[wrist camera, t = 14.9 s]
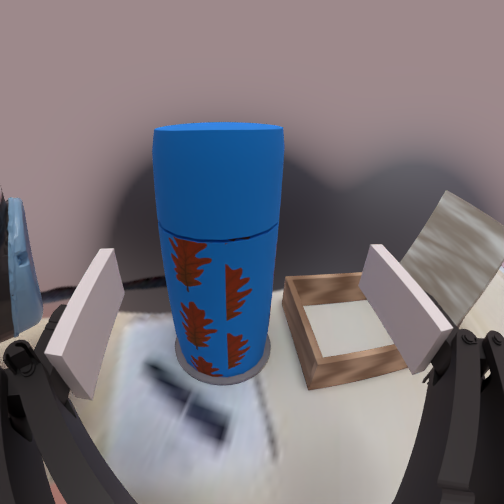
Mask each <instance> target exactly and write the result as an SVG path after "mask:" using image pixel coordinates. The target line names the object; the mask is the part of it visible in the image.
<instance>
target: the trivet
mask: <svg viewBox="0 0 504 504" xmlns="http://www.w3.org/2000/svg"><path fill="white" fill-rule="evenodd" d="M270 347H271V344H270V339H269V336H268V334H267V338H266V343H265V348H264V353H263V356H262V358H261V359H260V360H259V362H258V363H257V365H256V366H255V367H253V368H251V369H250V370H248V371H247V372H245V373H244V374H240V375H236V376H232V377H212V376H209V375H206V374H203V373H201V372H198V371H197V370H196V369H194V368H193V367H192V366H191V365H189V364H188V363H187V361H186V359H185V357H184V355H183V353H182V351H181V347H180V344H179V341H178V338H176V342H175V351H176V356H177V359H178V362H179V363H180V365H181V367H182V368H183V369H184V370H185V371H186V372H187V373H188V374H189V375H191V376H192V377H194V378H195V379H197V380H199V381H202V382H205V383H209V384H214V385H232V384H237V383H240V382H243V381H246V380H248V379H250V378H252V377H253V376H255V375H256V374H258V373H259V372H260V371H261V370H262V369H263V367H264V366H265V365H266V363H267V361H268V359H269V355H270Z"/></svg>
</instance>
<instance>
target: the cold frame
mask: <svg viewBox="0 0 504 504" xmlns="http://www.w3.org/2000/svg"><path fill="white" fill-rule="evenodd" d="M503 262H504V226H503V225H502V224H500V223H499V222H497V221H496V220H494V219H493V218H491V217H490V216H488V215H487V214H485V213H484V212H482V211H480V210H479V209H478V208H476V207H474V206H473V205H471V204H469V203H468V202H466V201H464V200H463V199H461V198H459V197H457V196H456V195H454V194H452V193H450V192H449V191H447V190H446V191H445V193H444V195H443V196H442V198H441V200H440V202H439V203H438V205H437V207H436V208H435V210H434V212H433V214H432V215H431V217H430V218H429V220H428V221H427V223H426V225H425V226H424V228H423V229H422V231H421V233H420V234H419V236H418V237H417V239H416V240H415V242H414V243H413V245H412V246H411V248H410V249H409V251H408V252H407V254H406V255H405V256H404V258H403V259H402V261H401V262H400V265H401V266H402V267H403V268H404V269H405V270H406V271H407V272H408V273H409V275H410V276H411V277H412V278H413V279H414V280H415V281H416V283H417V284H418V285H419V286H420V287H421V288H422V290H423V291H424V290H425V291H426V292H427V293H429V294H430V295H431V296H433V297H434V299H435V300H436V301H437V302H438V305H440V306H441V307H442V308H443V310H444V311H445V312H446V313H447V315H448V316H449V317H450V318H451V320H452V321H453V322H454V323H455V325H456V326H457V327H458V328H459V326H460V325H461V323H462V321H463V319H464V318H465V316H466V315H467V313H468V312H469V311H470V310H471V308H472V307H473V306H474V304H475V303H476V302H477V300H478V299H479V298H480V296H481V295H482V293H483V292H484V291H485V289H486V288H487V286H488V285H489V283H490V282H491V281H492V279H493V278H494V276H495V274H496V273H497V271H498V270H499V268H500V267H501V265H502V263H503ZM361 275H362V272H360V273H343V274H326V275H309V276H289V277H288V276H287V277H285V284H284V292H283V299H282V305H283V309H284V312H285V315H286V318H287V322H288V325H289V328H290V331H291V334H292V338H293V341H294V344H295V347H296V351H297V354H298V357H299V361H300V364H301V367H302V370H303V374H304V377H305V380H306V384H307V387H308V390H313V389H319V388H324V387H330V386H335V385H340V384H345V383H350V382H354V381H359V380H363V379H367V378H371V377H375V376H379V375H383V374H387V373H390V372H394V371H397V370H401V369H404V368H407V367H408V366H407V365H406V363H405V361H404V359H403V358H402V356H401V354H400V352H399V351H398V349H397V347H396V345H395V344H393V345H389V346H384V347H380V348H375V349H370V350H365V351H360V352H354V353H349V354H343V355H337V356H331V357H324V358H323V357H322V354H321V351H320V349H319V346H318V344H317V341H316V338H315V336H314V333H313V331H312V328H311V325H310V323H309V320H308V318H307V315H306V313H305V310H304V308H303V306H305V305H317V304H328V303H338V302H348V301H358V300H366V299H367V298H366V297H365V295H364V294H363V292H362V291H361V289H360V288H359V286H358V285H359V282H360V279H361Z"/></svg>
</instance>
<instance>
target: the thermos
mask: <svg viewBox="0 0 504 504" xmlns="http://www.w3.org/2000/svg"><path fill="white" fill-rule="evenodd" d="M152 152H153V153H152V154H153V171H154V185H155V196H156V207H157V216H158V221H159V222H158V225H159V234H160V242H161V249H162V256H163V263H164V269H165V276H166V283H167V288H168V294H169V300H170V305H171V311H172V316H173V321H174V326H175V331H176V334H177V338H178V341H179V344H180V347H181V351H182V353H183V355H184V357H185V359H186V361H187V363H188V364H189V365H191V366H192V367H193V368H194V369H196V370H197V371H198V372H201V373H203V374H206V375H209V376H212V377H232V376H236V375H240V374H244V373H245V372H247V371H248V370H250V369H251V368H253V367H255V366H256V365H257V363H258V362H259V360H260V359H261V358H262V356H263V353H264V348H265V343H266V338H267V332H268V326H269V318H270V309H271V299H272V289H273V279H274V268H275V258H276V247H277V236H278V225H279V212H280V201H281V188H282V175H283V160H284V134H283V127H280V126H275V125H267V124H257V123H238V122H237V123H236V122H209V123H191V124H179V125H171V126H164V127H160V128H156V129H155V130H154V137H153V150H152Z"/></svg>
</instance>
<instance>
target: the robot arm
mask: <svg viewBox="0 0 504 504" xmlns="http://www.w3.org/2000/svg"><path fill="white" fill-rule="evenodd" d="M358 286H359V288H360V289H361V291H362V292H363V294H364V295H365V297H366V298H367V300H368V302H369V303H370V305H371V306H372V308H373V309H374V311H375V313H376V314H377V316H378V317H379V319H380V321H381V322H382V324H383V325H384V327H385V329H386V330H387V332H388V334H389V335H390V337H391V339H392V340H393V342H394V344H395V345H396V347H397V349H398V351H399V352H400V354H401V356H402V358H403V359H404V361H405V363H406V365H407V366H408V368H409V370H410V372H411V373H412V375H413V374H416V373H419V372H422V371H424V370H425V369H426V368H427V366H428V365H429V364H430V362H431V363H432V365H433V368H432V369H431V371H430V372H429V373H428V374H427V376H426V377H425V378H424V380H423V382H422V383H425V382H426V380H427V379H428V378H429V382H428V383H427V384H428V388H427V394H426V399H425V404H424V409H423V413H422V417H421V422H420V426H419V429H418V433H417V437H416V440H415V444H414V447H413V450H412V454H411V457H410V460H409V463H408V466H407V469H406V471H405V474H404V477H403V480H402V482H401V485H400V487H399V490H398V492H397V494H396V497H395V499H394V501H393V502H392V504H504V338H503V336H502V335H501V334H500V333H499V332H496V331H489V332H488V334H487V335H486V337H485V338H484V339H483V338H477V337H476V336H475V335H474V334H473V333H472V332H471V331H469V330H466V329H460V330H459V329H458V327H457V326H456V325H455V323H454V322H453V321H452V320H451V318H450V317H449V316H448V315H447V313H446V312H445V311H444V310H443V308H442V307H441V306H440V305H438V302H437V301H436V300H435V299H434V297H433V296H431V295H430V294H429V293H427V292H426V291H425V290H424V291H423V290H422V288H421V287H420V286H419V285H418V284H417V283H416V281H415V280H414V279H413V278H412V277H411V276H410V275H409V273H408V272H407V271H406V270H405V269H404V268H403V267H402V266H401V265H400V263H399V262H398V261H397V260H396V259H395V258H394V257H393V256H392V255H391V254H390V253H389V252H388V251H387V249H386V248H384V246H383V245H381V244H380V245H370V249H369V252H368V256H367V259H366V262H365V266H364V269H363V272H362V275H361V279H360V282H359V285H358ZM124 293H125V292H124V289H123V285H122V281H121V277H120V273H119V269H118V266H117V261H116V257H115V252H114V248H113V249H100V250H99V252H98V253H97V255H96V257H95V258H94V260H93V261H92V263H91V264H90V266H89V268H88V270H87V271H86V273H85V274H84V276H83V278H82V280H81V281H80V283H79V285H78V286H77V288H76V290H75V292H74V294H73V295H72V297H71V299H70V301H69V303H68V305H60V306H59V307H58V308H57V309H56V310H55V311H54V312H53V314H52V315H51V317H50V319H49V323H47V325H46V327H45V330H44V331H43V333H42V335H41V337H40V339H39V341H38V343H37V345H36V347H35V349H34V350H33V349H32V347H31V346H30V344H29V343H28V342H27V341H25V340H17V341H14V342H13V343H11V344H10V345H9V346H8V347H7V348H6V350H5V352H4V355H3V361H4V362H5V364H6V365H7V366H8V368H9V369H2V368H1V366H0V504H55V501H54V498H53V495H52V492H51V489H50V486H49V482H48V479H47V475H46V472H45V468H44V464H43V460H44V462H45V464H46V466H47V468H48V470H49V472H50V474H51V476H52V478H53V480H54V482H55V484H56V485H57V487H58V489H59V491H60V493H61V494H62V496H63V498H64V499H65V501H66V503H67V504H137V503H136V501H135V500H134V499H133V498H132V497H131V495H130V494H129V493H128V492H127V490H126V489H125V488H124V486H123V485H122V484H121V483H120V481H119V480H118V479H117V477H116V476H115V474H114V473H113V472H112V470H111V469H110V467H109V466H108V464H107V463H106V462H105V460H104V459H103V457H102V455H101V454H100V452H99V451H98V449H97V448H96V446H95V444H94V443H93V441H92V439H91V438H90V436H89V434H88V433H87V431H86V429H85V427H84V425H83V424H82V422H81V420H80V418H79V416H78V414H77V412H76V410H75V408H74V406H73V404H72V402H71V400H70V399H69V398H68V395H69V391H70V390H71V391H72V393H73V394H74V395H75V396H76V397H77V398H83V399H88V400H92V399H93V395H94V391H95V387H96V383H97V379H98V375H99V371H100V368H101V364H102V361H103V357H104V354H105V350H106V347H107V344H108V340H109V337H110V334H111V331H112V328H113V325H114V322H115V319H116V316H117V313H118V310H119V307H120V305H121V302H122V299H123V296H124ZM42 315H43V303H42V298H41V294H40V289H39V285H38V281H37V276H36V272H35V267H34V262H33V257H32V252H31V247H30V241H29V236H28V230H27V223H26V217H25V211H24V207H23V202H22V200H21V199H20V198H8V200H7V201H5V200H4V196H3V193H2V188H1V185H0V343H1V342H3V341H6V340H8V339H11V338H13V337H14V338H15V337H18V336H19V333H21V332H23V331H25V330H27V329H29V328H31V327H33V326H35V325H36V324H38V323H39V322H40V320H41V318H42ZM489 369H490V372H491V374H490V375H489V376H488V378H486V379H485V376H484V375H485V373H486V372H487V371H488V370H489ZM42 457H43V460H42ZM468 486H469V487H468Z"/></svg>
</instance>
